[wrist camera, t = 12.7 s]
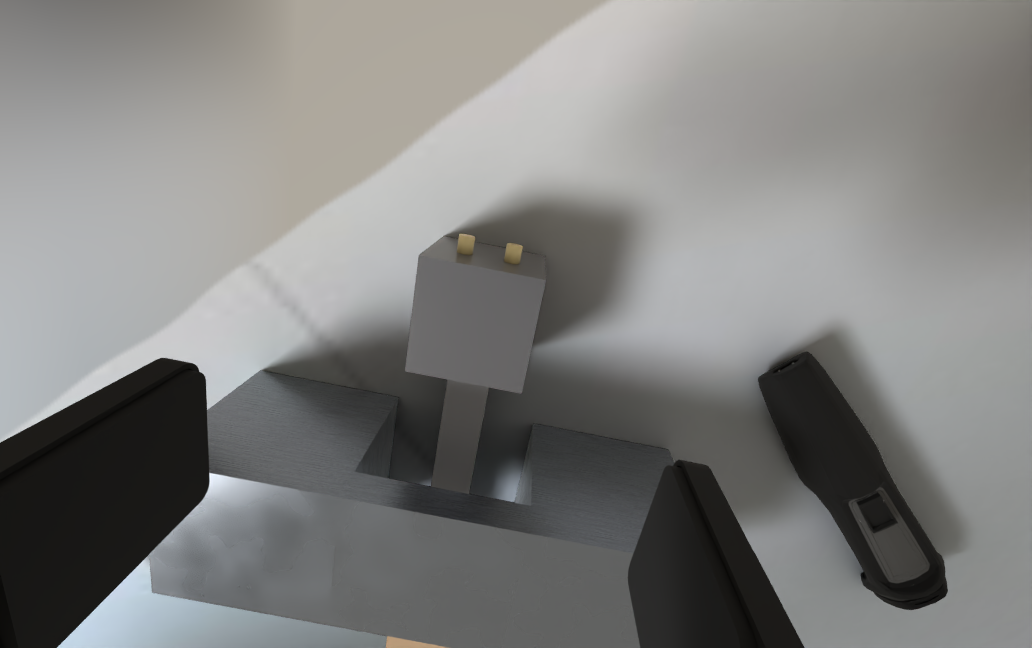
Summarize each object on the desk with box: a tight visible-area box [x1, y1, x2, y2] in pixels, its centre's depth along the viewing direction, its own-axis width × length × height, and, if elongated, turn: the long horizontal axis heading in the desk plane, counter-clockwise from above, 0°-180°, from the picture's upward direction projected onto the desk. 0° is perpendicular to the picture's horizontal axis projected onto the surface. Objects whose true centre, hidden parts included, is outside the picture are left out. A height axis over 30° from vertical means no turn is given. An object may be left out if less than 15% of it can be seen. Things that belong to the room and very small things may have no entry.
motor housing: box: [149, 370, 674, 648], centre depth 20 cm, size 6×20×7 cm, turn 79°
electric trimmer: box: [758, 352, 948, 610], centre depth 22 cm, size 4×16×3 cm, turn 35°
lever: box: [386, 234, 546, 648], centre depth 22 cm, size 22×4×4 cm, turn 169°
